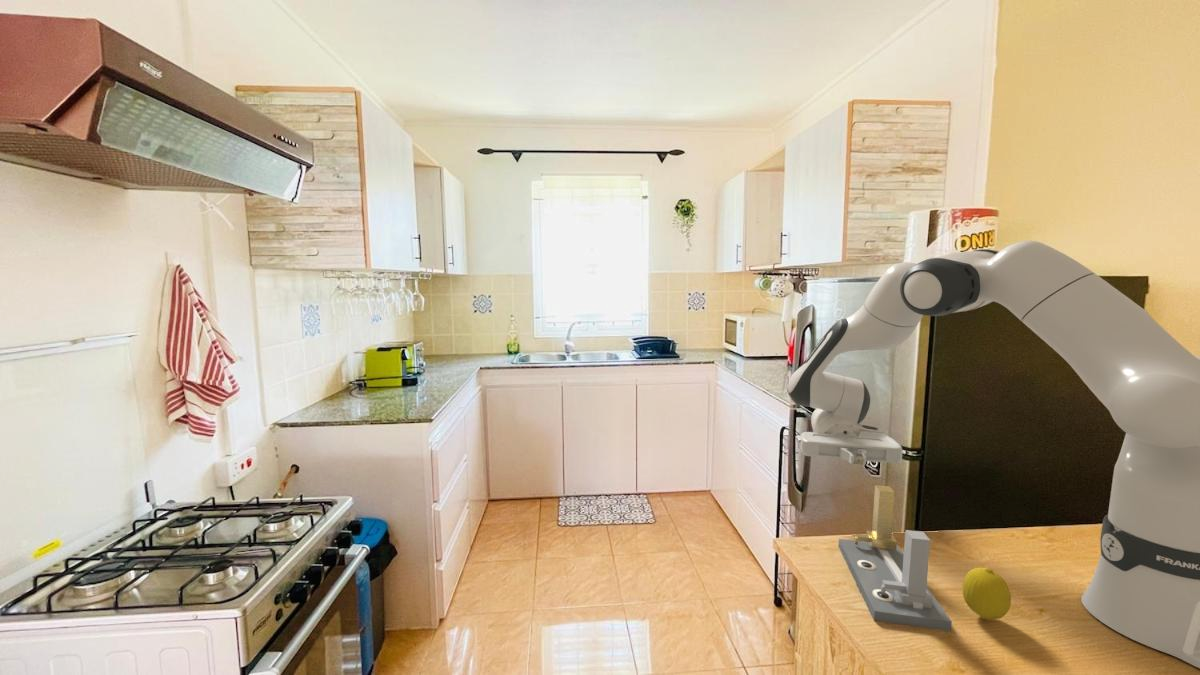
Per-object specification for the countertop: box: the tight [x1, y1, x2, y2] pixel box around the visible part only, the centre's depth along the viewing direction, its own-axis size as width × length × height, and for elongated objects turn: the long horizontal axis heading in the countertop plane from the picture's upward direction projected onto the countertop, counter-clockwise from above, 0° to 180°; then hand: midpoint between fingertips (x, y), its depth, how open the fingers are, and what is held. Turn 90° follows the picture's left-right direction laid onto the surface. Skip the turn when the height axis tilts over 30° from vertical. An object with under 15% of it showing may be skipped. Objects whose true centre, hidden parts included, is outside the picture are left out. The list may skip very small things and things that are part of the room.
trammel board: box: [838, 529, 953, 632], centre depth 77 cm, size 10×20×12 cm, turn 167°
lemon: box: [962, 567, 1012, 620], centre depth 69 cm, size 6×6×8 cm
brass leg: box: [854, 484, 898, 550], centre depth 85 cm, size 6×3×11 cm, turn 77°
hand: (858, 460), depth 98 cm, fingers closed
